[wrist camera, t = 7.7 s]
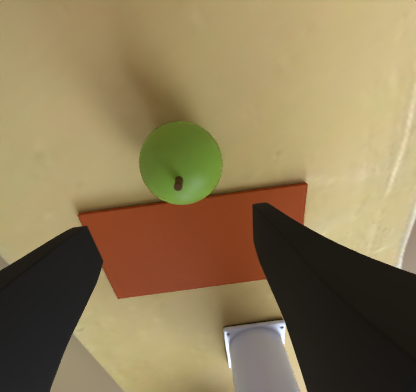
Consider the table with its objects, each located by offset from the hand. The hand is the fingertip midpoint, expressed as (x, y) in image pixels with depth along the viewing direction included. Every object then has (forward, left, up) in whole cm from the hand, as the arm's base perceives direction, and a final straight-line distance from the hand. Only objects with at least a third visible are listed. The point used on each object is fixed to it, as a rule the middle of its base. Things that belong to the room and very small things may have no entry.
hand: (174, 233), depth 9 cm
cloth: (-8, 0, -9) cm, 12 cm away
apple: (+1, 0, -9) cm, 9 cm away
